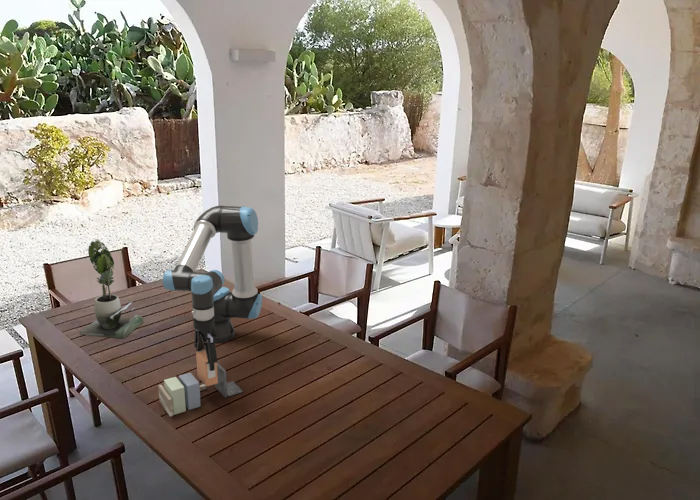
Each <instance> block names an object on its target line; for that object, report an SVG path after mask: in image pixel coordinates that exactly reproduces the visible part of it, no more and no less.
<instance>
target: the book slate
mask: <svg viewBox="0 0 700 500" xmlns="http://www.w3.org/2000/svg"><path fill="white" fill-rule="evenodd" d="M178 380H179V381H180V383H181V384H182V385H183V386H184V391H185V406H186V409H188V410H189V411H190V410H193V409H196V408H199V407H201V405H202V404H201V391H200V387H199V385H200V382H199V381H198V380H197V378H195V376H194V375H193V373H191V372H188V373H184V374H180V375H178Z"/></svg>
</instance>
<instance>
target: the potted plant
mask: <svg viewBox="0 0 700 500" xmlns="http://www.w3.org/2000/svg"><path fill="white" fill-rule="evenodd" d="M87 248H88V249H87V251H88V252H87V253H88V256H89V260H90V262H91V264H92V265H93V269H94V270H95V271H96V272H97V274H99V275H100V276H99V277H96V282H97V283H98V284H100V285H101V287H102V288H101V289H102V295H99V296H97V297H95V299H94V306H93V307H94V315H95V318H96V320H94V321H93V322H92V323H90V324H89V325H87V326H86V327H84V328H83V329H81V330H80V331H79V334H80V335H82V334H84V336H92V335H93V337H94V336H95V337H102V336H104V337H103V338H112V337H113V338H115V339H124V338H126V337H127V336H128V335H130V334H131V332H134V331H135V329H137V328H138V327H139V326H141V325H142V323H144V316H141V315H138V314H136V315H134V316H133V317H132V318H129V317H121V316H122V312H123V311H125V312H126V310H127V309H128V308H129V307H130V306H131V305H132V303H133V302H132V301H131V302H129V303H128V304H127V305H125V306H124V307H122V305H121V301H120V300H121V299H120V298H119V296H118V295H116V294H112V293H111V288H110V285H112V284H113V283H114V282H115V280H114V277H113V275H114V270H113V269H115V268H114V267H115V266H114V265H115V262H114V259H113V256H112V253H111V251H110V250H109V248H108V246H107V245H105V243H104V242H101V240H100V239H98V238H97V239H95V240H94V241H93V240H92V241H91V242H90V244H89V245H88V247H87ZM107 290H108V294H107ZM134 309H135V307H132V308H131V311H132V312H133V310H134ZM124 340H125V339H124Z"/></svg>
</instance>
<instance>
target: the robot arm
mask: <svg viewBox="0 0 700 500" xmlns="http://www.w3.org/2000/svg"><path fill="white" fill-rule="evenodd" d="M258 225H259V218H258V215H257V212H256V211H255V209H254V208H252V207H249V206H244V205H243V206H235V205H232V206H230V205H216V206H211V207H210V208H208V209H207V210H205V211H204V212H202V213H201V214H200V215H199V216H198V218H197V219H196V221H195V223H194V224H193V226H192V227H193V228H192V229H193V232H192V234H191V236H190V238H189V240H188V242H187V243H186V246H185V247H184V249H183V251H182V253H181V256H180V257H179V259H178V262H177V263H176V265H175V267H174V269H173V270H172V269H171V270H170V269H169V270H166V271H165V272H164V274H163V276H162V285H163V288H164V289H165V290H167V291H168V290H169V291H174V292H191V301H192V306H191V308H192V310H191V314H192V316H193V319H192V321H193V324H192V325H193V329H194V348H195V350H196V352H201V351H205V350H206V355H207V359H208V362H206V363H207V372H208V379H209V378H213V377H215V363H216V362H218V356H217V355H218V354H217V350H216V349H217V348H216V347H217V346H216V344H217V343H219V344H220V343H224V342H228V341H230V340H232V339H233V338H235V335H236V333H235V328H234V325H233V323H232V320H231V318H235V319H246V320H249V319H250V320H255V319H257V318H258V317H259V316H260V313H261V310H262V306H263V295H262V294H261V293H258V291H259V290H258V288H257V287H256V286H255V279H254V265H253V252H252V251H253V250H252V240H253V239H254V237H255V235H256V234H257V233H258V230H259V226H258ZM217 233H222V234H223V233H224V234H226V238H227V240H229V241H230V244H231V255H232V269H233V279H234V288H233V289H232V291H230V289H229V287H226V286H224V284H225V281H226V280H225V279H226V278H225V275H224V273H222V272H221V271H219V269H218V270H217V269H212V270H210V271H207V272H198V271H197V272H196V270H197V268H198V266H199V263H200V262H201V260H202V258H203V257H204V256H203V255H204V253H205V251H206V249H207V247H208V245H209V242H210V241H211V239H213V238H214V237H215V235H216V234H217Z"/></svg>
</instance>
